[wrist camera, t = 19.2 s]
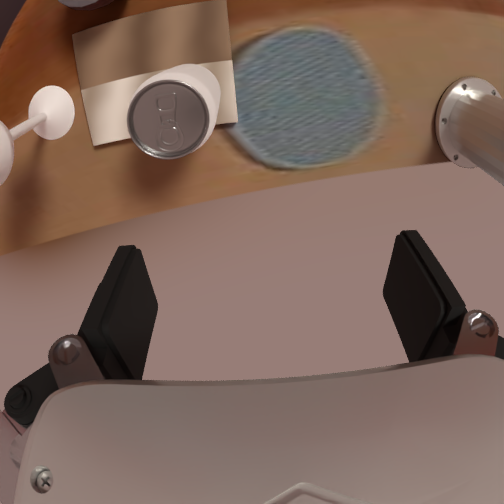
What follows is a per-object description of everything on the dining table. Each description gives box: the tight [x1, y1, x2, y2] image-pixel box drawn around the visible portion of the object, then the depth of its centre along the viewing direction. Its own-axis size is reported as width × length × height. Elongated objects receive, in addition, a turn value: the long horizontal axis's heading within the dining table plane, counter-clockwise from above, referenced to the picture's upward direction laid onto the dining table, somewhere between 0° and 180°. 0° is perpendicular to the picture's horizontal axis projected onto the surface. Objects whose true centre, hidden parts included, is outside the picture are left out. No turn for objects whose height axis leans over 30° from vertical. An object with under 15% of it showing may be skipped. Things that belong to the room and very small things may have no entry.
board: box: [72, 0, 238, 146], centre depth 28 cm, size 16×13×1 cm
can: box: [127, 64, 221, 159], centre depth 24 cm, size 6×6×12 cm
